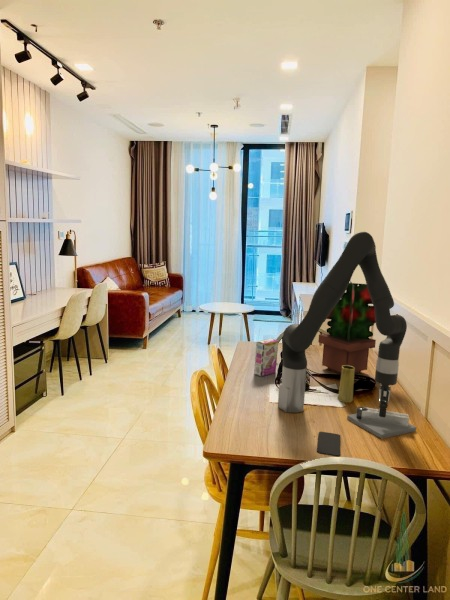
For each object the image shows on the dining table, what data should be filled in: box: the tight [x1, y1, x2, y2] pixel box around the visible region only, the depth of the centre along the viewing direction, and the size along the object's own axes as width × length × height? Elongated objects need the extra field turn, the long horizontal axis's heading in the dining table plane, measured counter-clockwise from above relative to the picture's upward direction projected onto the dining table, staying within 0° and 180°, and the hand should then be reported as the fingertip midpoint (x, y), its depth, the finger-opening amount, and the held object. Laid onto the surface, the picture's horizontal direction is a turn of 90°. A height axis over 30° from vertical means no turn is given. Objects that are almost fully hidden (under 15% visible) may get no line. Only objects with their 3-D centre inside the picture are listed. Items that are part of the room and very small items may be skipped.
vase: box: [337, 365, 355, 403], centre depth 185 cm, size 6×6×14 cm
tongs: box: [355, 406, 410, 428], centre depth 162 cm, size 18×4×4 cm, turn 71°
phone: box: [316, 431, 341, 457], centre depth 146 cm, size 7×1×15 cm
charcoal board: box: [346, 408, 417, 439], centre depth 163 cm, size 17×17×2 cm
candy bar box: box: [253, 338, 279, 378], centre depth 213 cm, size 11×5×16 cm, turn 134°
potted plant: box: [318, 280, 377, 375], centre depth 221 cm, size 22×22×45 cm
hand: (382, 412), depth 162 cm, fingers open, 8 cm apart
